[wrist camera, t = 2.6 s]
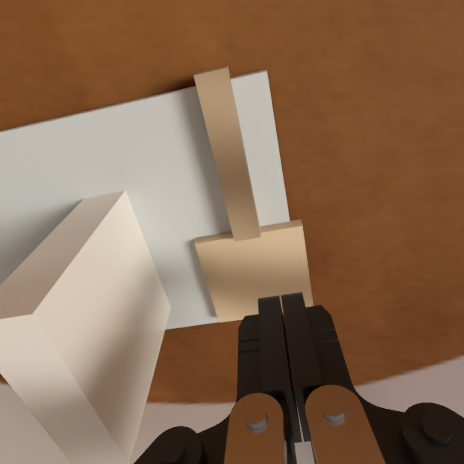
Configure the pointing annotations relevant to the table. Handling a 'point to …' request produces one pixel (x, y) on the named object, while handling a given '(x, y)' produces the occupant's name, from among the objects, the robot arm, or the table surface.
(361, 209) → the table surface
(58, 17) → the table surface
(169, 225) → the mat
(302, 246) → the turner
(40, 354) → the tile
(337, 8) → the table surface
